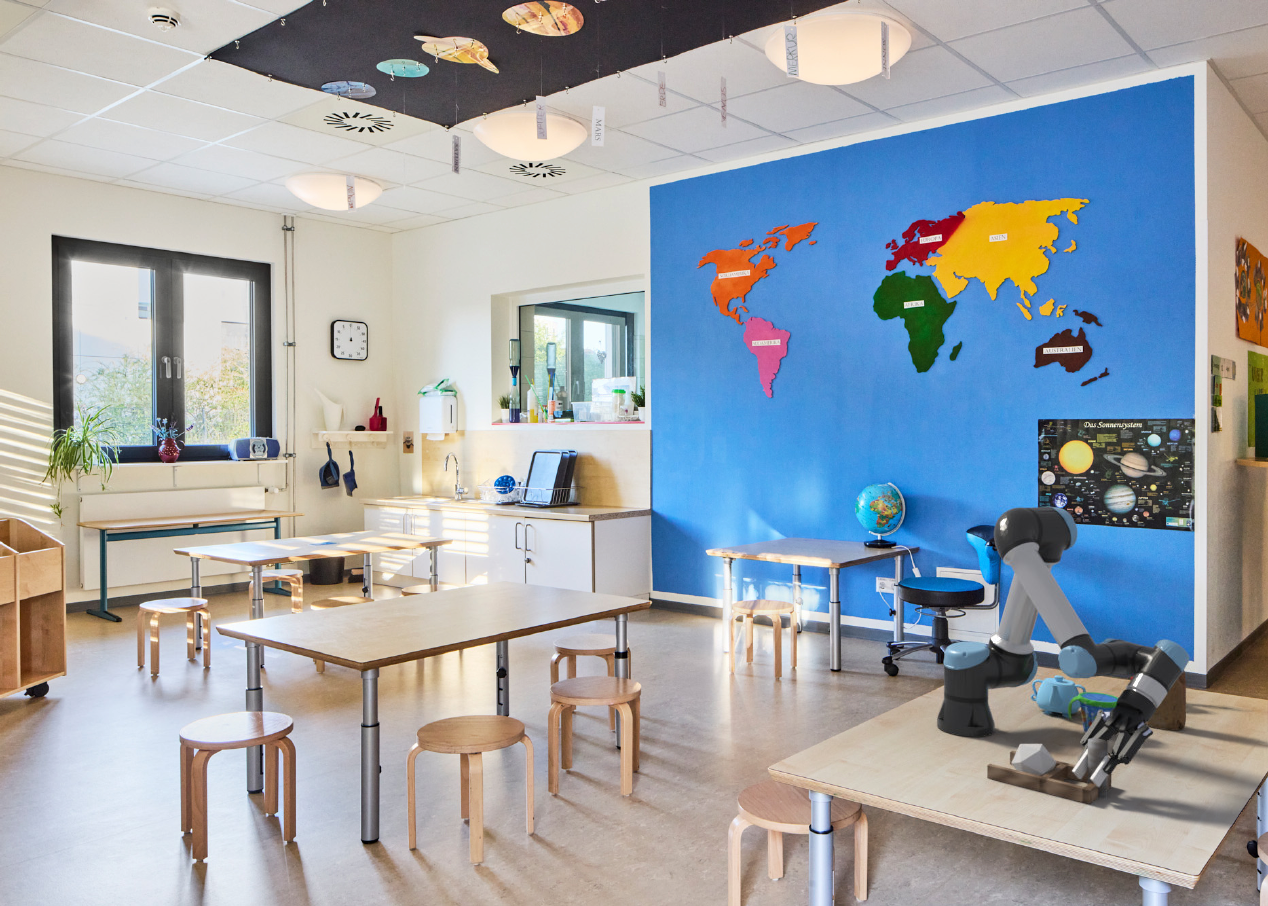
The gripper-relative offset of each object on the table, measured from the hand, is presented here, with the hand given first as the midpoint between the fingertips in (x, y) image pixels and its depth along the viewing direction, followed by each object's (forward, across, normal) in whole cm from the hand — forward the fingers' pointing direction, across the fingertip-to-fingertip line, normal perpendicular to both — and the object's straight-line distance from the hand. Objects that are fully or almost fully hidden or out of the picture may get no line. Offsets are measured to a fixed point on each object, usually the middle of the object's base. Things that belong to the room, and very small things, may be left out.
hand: (1085, 778), depth 208 cm
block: (-42, +34, -49) cm, 73 cm away
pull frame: (+3, +9, -2) cm, 10 cm away
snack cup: (-26, +35, -32) cm, 54 cm away
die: (+5, +13, -1) cm, 14 cm away
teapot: (-29, +53, -35) cm, 70 cm away
